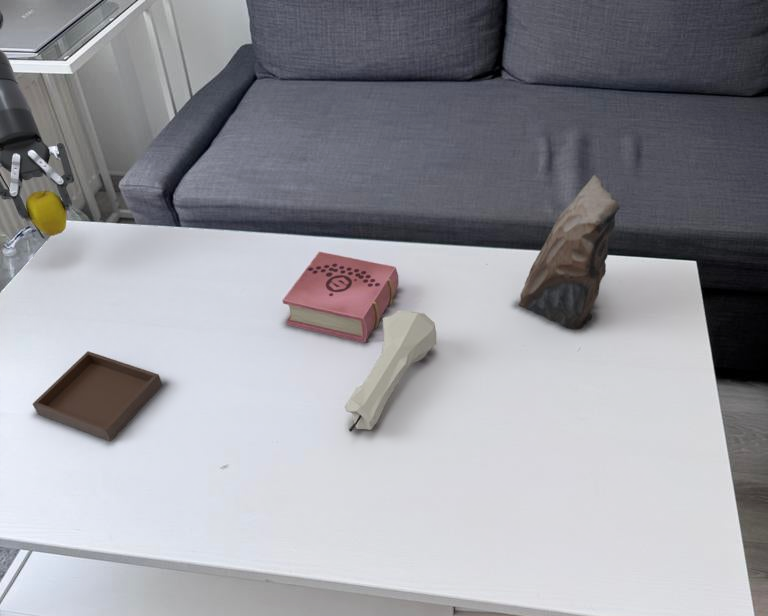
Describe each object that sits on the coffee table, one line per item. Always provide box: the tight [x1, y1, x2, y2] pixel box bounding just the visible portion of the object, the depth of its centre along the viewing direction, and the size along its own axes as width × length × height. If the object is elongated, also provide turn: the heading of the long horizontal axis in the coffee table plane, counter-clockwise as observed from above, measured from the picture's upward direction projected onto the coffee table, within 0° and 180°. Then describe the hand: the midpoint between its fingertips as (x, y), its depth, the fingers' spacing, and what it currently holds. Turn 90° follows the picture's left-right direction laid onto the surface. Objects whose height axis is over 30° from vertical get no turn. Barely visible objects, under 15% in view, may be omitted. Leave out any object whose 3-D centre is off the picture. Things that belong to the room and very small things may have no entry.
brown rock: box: [518, 174, 621, 330], centre depth 118 cm, size 13×13×20 cm
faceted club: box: [344, 309, 438, 432], centre depth 113 cm, size 9×8×25 cm
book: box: [282, 251, 399, 344], centre depth 126 cm, size 14×15×5 cm
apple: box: [25, 190, 68, 237], centre depth 131 cm, size 6×6×8 cm
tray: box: [32, 350, 163, 442], centre depth 116 cm, size 14×13×2 cm
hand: (48, 214), depth 130 cm, fingers closed on apple, 6 cm apart
